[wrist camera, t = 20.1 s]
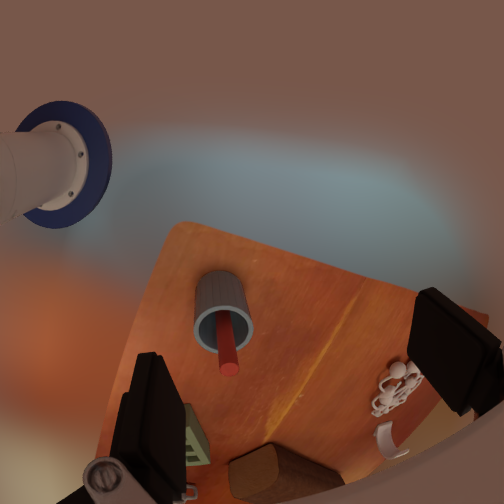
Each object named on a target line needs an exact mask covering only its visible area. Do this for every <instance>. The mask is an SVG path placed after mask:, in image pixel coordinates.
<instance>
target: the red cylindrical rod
mask: <svg viewBox="0 0 504 504" xmlns="http://www.w3.org/2000/svg"><path fill="white" fill-rule="evenodd" d="M215 319H216V332H217V344H218V356H219V367H220V372H221V374H223V375H224V376H234V375H236V374H237V373H238V372H239V364H238V358H237V352H236V346H235V340H234V334H233V328H232V321H231V315H230V310H218V311H215Z"/></svg>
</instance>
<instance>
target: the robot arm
mask: <svg viewBox="0 0 504 504" xmlns="http://www.w3.org/2000/svg"><path fill="white" fill-rule="evenodd" d="M60 126H61V129H60ZM82 153H84V155H83V156H82ZM88 170H89V155H88V149H87V146H86V143H85V141H84V139H83V137H82V135H81V134H80V133H79V131H78V130H77V129H76V128H74V127H73V126H72V125H70V124H68V123H66V122H61V121H48V122H44V123H42V124H40V125H38V126H36V127H35V128H34V129H32V130H31V131H30V132H5V133H0V226H1V225H3V224H4V223H6V222H8V221H10V220H12V219H14V218H16V217H18V216H20V215H22V214H24V213H26V212H28V211H30V210H32V209H34V208H36V207H37V208H39V209H42V210H49V211H52V210H57V209H60V208H62V207H65V206H66V205H68V204H70V203H71V202H72V201H73V200H74V199H76V197H77V196H78V195H79V193H80V192H81V190H82V188H83V187H84V185H85V182H86V179H87V176H88ZM72 192H73V193H74V195H73V194H72ZM500 345H501V341H500V340H499V339H498V338H497V337H496V336H494V335H493V334H492V333H491V332H490V331H489V330H487V329H486V328H485V327H484V326H483V325H481V324H480V323H479V322H478V321H476V320H475V319H474V318H473V317H472V316H470V315H469V314H468V313H467V312H465V311H464V310H463V309H462V308H460V307H459V306H458V305H457V304H455V303H454V302H453V301H451V300H450V299H449V298H447V297H446V296H445V295H443V294H442V293H441V292H440V291H438V290H437V289H436V288H434V287H430V288H428V289H424V290H422V291H420V292H419V293H418V296H417V297H416V299H415V306H414V313H413V319H412V325H411V331H410V336H409V342H408V347H407V354H408V357H409V358H410V359H411V361H412V362H413V363H414V364H415V365H416V367H417V368H418V369H419V370H420V371H421V373H422V374H423V375H424V376H425V377H426V379H427V380H428V381H429V382H430V384H431V385H432V386H433V387H434V389H435V390H436V391H437V392H438V393H439V395H440V396H441V397H442V398H443V400H444V401H445V402H446V404H447V405H448V406H449V407H450V409H451V410H452V411H454V412H457V413H458V415H459V416H460V417H461V416H462V415H464V414H465V413H467V412H469V411H470V410H471V408H473V410H474V422H472V423H471V424H469V425H468V426H466V427H465V428H463V429H462V430H460V431H458V432H457V433H455V434H453V435H452V436H450V437H448V438H447V439H445V440H443V441H442V442H440V443H438V444H436V445H434V446H432V447H431V448H429V449H427V450H425V451H423V452H421V453H419V454H417V455H416V456H414V457H411V458H409V459H407V460H405V461H403V462H401V463H399V464H397V465H394V466H392V467H390V468H388V469H386V470H383V471H381V472H378V473H376V474H373V475H371V476H368V477H366V478H363V479H360V480H358V481H355V482H352V483H349V484H346V485H343V486H340V487H337V488H334V489H331V490H328V491H325V492H321V493H318V494H314V495H311V496H307V497H303V498H299V499H295V500H291V501H286V502H282V503H277V504H504V347H503V349H500V348H499V347H500ZM83 483H84V485H83V486H82V487H80V488H79V489H77V490H76V491H75V492H73V493H72V494H70V495H69V496H67V497H66V498H65V499H63V500H61V501H60V502H58V503H56V504H173V501H182V493H186V490H187V486H186V410H185V406H184V404H183V402H182V400H181V398H180V395H179V393H178V391H177V389H176V387H175V385H174V382H173V380H172V378H171V375H170V373H169V371H168V369H167V366H166V364H165V361H164V359H163V357H162V356H161V355H158V356H157V354H156V353H155V352H148V353H140V354H138V356H137V360H136V364H135V368H134V372H133V376H132V381H131V385H130V389H129V392H125V393H124V394H123V396H122V399H121V403H120V407H119V412H118V416H117V421H116V425H115V430H114V435H113V440H112V445H111V450H110V456H109V457H99V458H97V459H95V460H93V461H92V462H90V463H89V464H88V465H87V467H86V468H85V470H84V473H83Z"/></svg>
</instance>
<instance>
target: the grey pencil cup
mask: <svg viewBox="0 0 504 504" xmlns="http://www.w3.org/2000/svg"><path fill="white" fill-rule="evenodd" d="M218 310H230V315H231V321H232V328H233V334H234V340H235V346H236V351H238V350H239V349H241V348H243V347H244V346H245V345H246V344H247V343H248V342H249V341H250V339H251V337H252V334H253V323H252V319H251V315H250V311H249V308H248V304H247V300H246V296H245V292H244V289H243V285H242V283H241V281H240V280H239V279H238V278H237V277H236V276H235V275H233V274H232V273H229V272H226V271H214V272H210V273H208V274H206V275H205V276H203V277H202V278H201V279H200V280H199V282H198V284H197V286H196V290H195V308H194V336H195V339H196V340H197V342H198V343H199V345H200V346H202V347H203V348H204V349H206V350H208V351H210V352H213V353H217V354H218V344H217V332H216V319H215V311H218Z"/></svg>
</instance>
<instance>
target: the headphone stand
mask: <svg viewBox="0 0 504 504" xmlns="http://www.w3.org/2000/svg"><path fill="white" fill-rule="evenodd" d="M392 423H393V422H392V420H391V421H388V422H385V423H382V424H379V425H377V428H376V430H375V432H374V434H373V436H376V441H377V445H378V448H379V451H380V452H381V454H382V455H383V457H385V458H386V459H389V460H391V459H394V458H397V457H399V456H402V455H404V454H407V453H408V452H409V451H410V450H409V449H406V450H404V451H399V450H398V449H397V448H396V447H395V445H394V443H393V441H392V437H391V426H392Z"/></svg>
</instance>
